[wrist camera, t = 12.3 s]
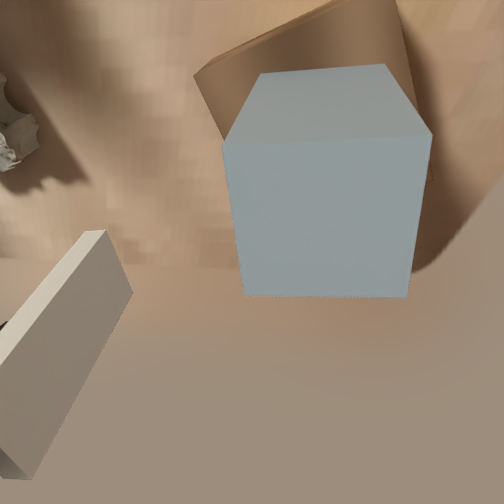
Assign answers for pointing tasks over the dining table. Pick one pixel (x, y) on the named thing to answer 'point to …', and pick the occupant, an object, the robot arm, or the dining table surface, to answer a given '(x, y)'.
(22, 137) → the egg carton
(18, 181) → the dining table surface
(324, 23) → the walnut block
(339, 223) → the slate block
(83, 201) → the dining table surface
